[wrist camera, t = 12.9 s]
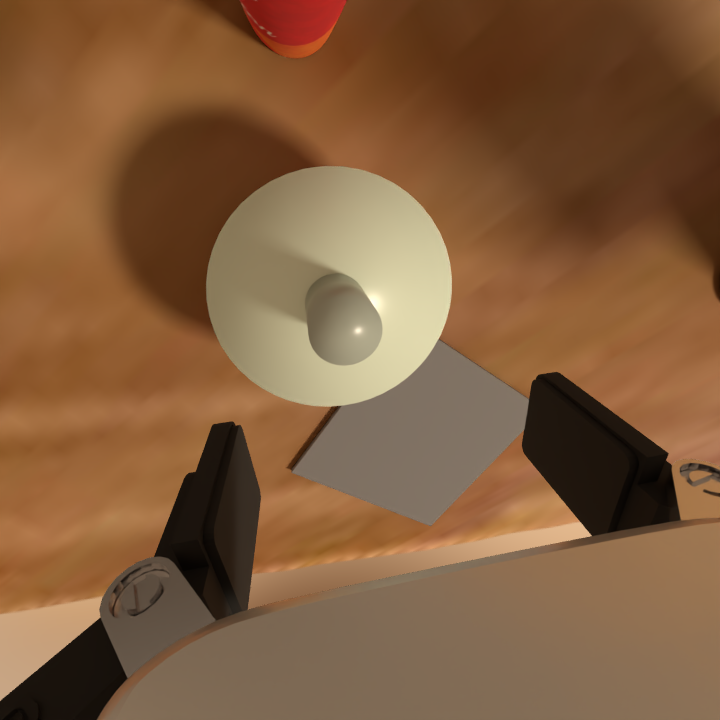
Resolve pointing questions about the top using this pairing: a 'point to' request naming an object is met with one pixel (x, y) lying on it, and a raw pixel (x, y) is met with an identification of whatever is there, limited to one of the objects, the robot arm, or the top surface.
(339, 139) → the top surface
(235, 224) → the lid
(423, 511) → the mat
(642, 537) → the robot arm
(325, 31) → the paper cup
